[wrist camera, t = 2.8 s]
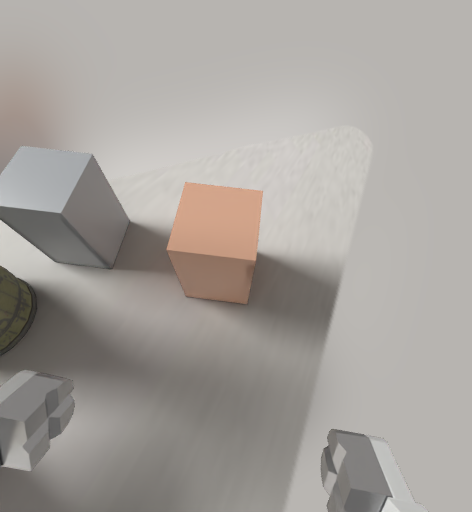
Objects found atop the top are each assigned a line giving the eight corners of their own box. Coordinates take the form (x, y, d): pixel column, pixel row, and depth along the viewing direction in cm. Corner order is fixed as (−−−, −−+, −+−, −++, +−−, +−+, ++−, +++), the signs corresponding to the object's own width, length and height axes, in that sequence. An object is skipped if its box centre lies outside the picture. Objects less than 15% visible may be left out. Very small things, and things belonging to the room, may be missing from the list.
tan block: (247, 304, 28) (255, 260, 19) (185, 296, 28) (166, 249, 19) (252, 250, 31) (262, 191, 22) (197, 243, 31) (185, 182, 22)
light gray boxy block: (111, 268, 29) (60, 213, 20) (54, 261, 29) (-21, 203, 20) (129, 220, 32) (92, 153, 23) (78, 214, 32) (21, 145, 23)
